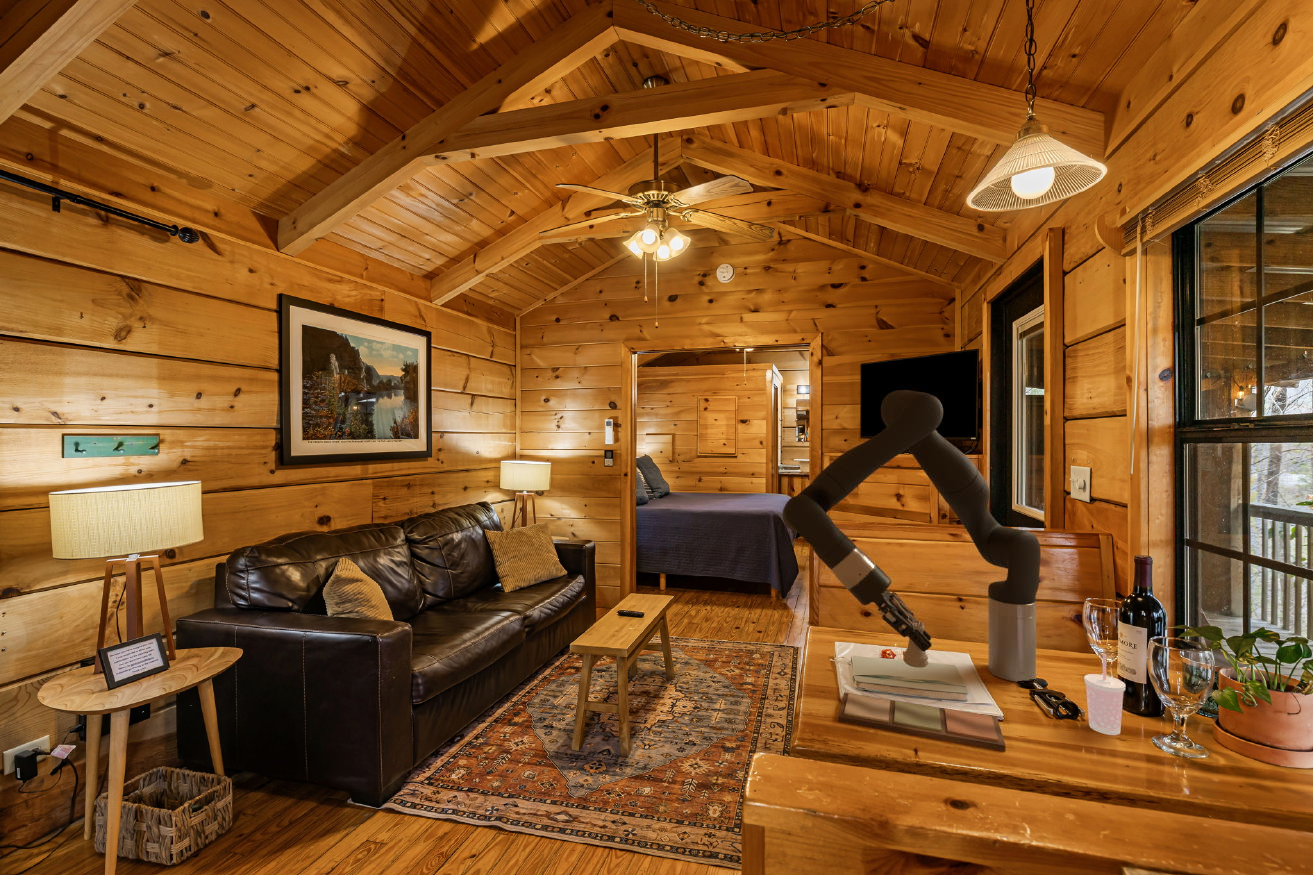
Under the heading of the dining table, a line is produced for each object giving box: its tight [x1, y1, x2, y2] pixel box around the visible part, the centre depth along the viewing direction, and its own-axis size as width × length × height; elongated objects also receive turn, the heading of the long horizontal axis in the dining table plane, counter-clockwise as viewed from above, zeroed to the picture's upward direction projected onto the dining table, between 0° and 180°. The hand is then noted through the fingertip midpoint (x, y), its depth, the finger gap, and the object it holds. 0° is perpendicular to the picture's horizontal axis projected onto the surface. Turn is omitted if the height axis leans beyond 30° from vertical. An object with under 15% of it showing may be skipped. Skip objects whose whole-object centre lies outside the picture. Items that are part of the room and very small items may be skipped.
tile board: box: [837, 691, 1006, 752], centre depth 112 cm, size 11×28×1 cm, turn 67°
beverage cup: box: [1083, 653, 1126, 736], centre depth 109 cm, size 6×6×14 cm
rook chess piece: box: [903, 620, 929, 669], centre depth 112 cm, size 4×4×8 cm
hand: (927, 644), depth 111 cm, fingers closed on rook chess piece, 3 cm apart
